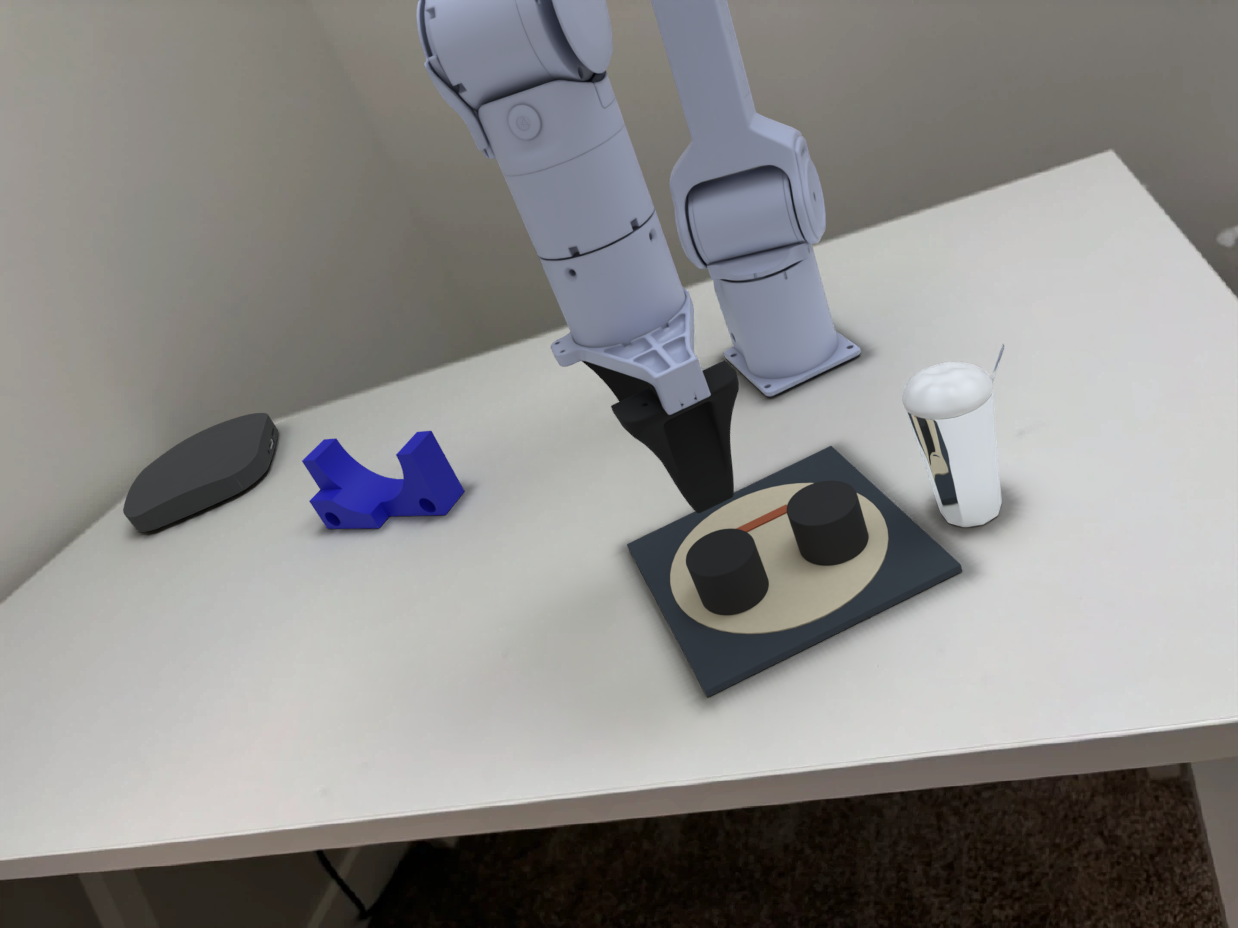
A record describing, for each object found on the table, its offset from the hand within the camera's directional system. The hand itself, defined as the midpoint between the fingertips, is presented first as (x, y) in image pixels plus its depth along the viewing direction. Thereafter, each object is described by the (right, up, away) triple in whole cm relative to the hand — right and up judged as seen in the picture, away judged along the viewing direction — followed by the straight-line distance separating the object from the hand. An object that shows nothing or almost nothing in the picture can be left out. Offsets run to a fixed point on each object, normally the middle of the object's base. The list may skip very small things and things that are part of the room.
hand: (688, 467), depth 50 cm
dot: (+9, -4, +5) cm, 11 cm away
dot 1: (+3, -7, +4) cm, 9 cm away
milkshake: (+17, -2, +4) cm, 17 cm away
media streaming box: (-45, -2, +48) cm, 66 cm away
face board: (+6, -5, +6) cm, 10 cm away
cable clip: (-22, -4, +28) cm, 36 cm away
